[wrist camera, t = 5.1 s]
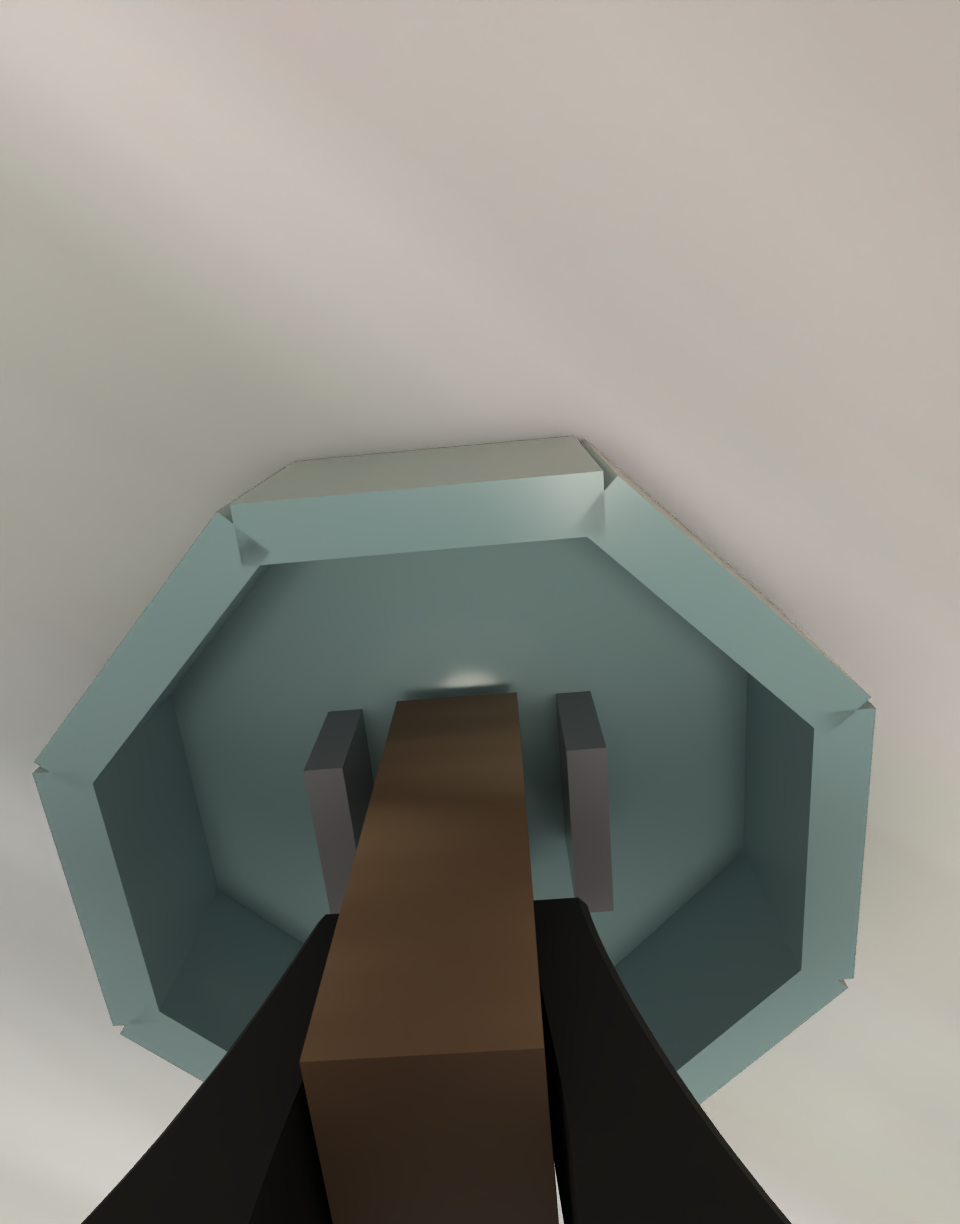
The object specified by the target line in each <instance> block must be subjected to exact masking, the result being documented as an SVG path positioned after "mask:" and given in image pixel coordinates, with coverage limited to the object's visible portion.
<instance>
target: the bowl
mask: <svg viewBox="0 0 960 1224" xmlns="http://www.w3.org/2000/svg"><path fill="white" fill-rule="evenodd" d="M513 692H517V697H518V709H519V722H520V734H521V747H522V760H523V772H524V785H525V797H526V810H527V822H528V835H529V847H530V860H531V872H532V885H533V897H534V900H546V899H560V898H575V897H578V898H580V899H581V900H582V901H583V902H585V903H586V904H587V905H588V908H589V912H590V915H591V917H592V920H593V922H594V925H595V927H596V930H597V932H598V935H599V937H600V939H601V941H602V943H603V945H604V948H605V950H606V952H607V954H608V956H609V958H610V960H611V962H612V964H613V966H614V967H615V969H616V971H617V973H618V975H619V977H620V979H621V981H622V983H623V985H624V986H625V988H626V990H627V992H628V993H629V995H630V997H631V999H632V1001H633V1002H634V1004H635V1006H636V1007H637V1009H638V1011H639V1012H640V1014H641V1015H642V1017H643V1019H644V1020H645V1022H646V1024H647V1025H648V1027H649V1029H650V1030H651V1032H652V1034H653V1035H654V1037H655V1039H656V1040H657V1042H658V1044H659V1045H660V1047H661V1048H662V1050H663V1051H664V1053H665V1054H666V1056H667V1058H668V1059H669V1061H670V1062H671V1064H672V1065H673V1067H674V1068H675V1070H676V1071H677V1073H678V1074H679V1076H680V1077H681V1079H682V1080H683V1082H684V1083H685V1084H686V1086H687V1087H688V1089H689V1090H690V1092H691V1093H692V1095H693V1096H694V1098H695V1099H696V1100H697V1102H698V1103H699V1105H700V1104H701V1103H702V1102H703V1101H705V1100H706V1099H707V1098H709V1097H710V1096H711V1095H712V1094H714V1093H715V1092H716V1091H717V1090H719V1089H720V1088H721V1087H723V1086H724V1085H725V1084H726V1083H728V1082H729V1081H730V1080H731V1079H733V1078H734V1077H735V1076H736V1075H738V1074H739V1073H740V1072H742V1071H743V1070H744V1069H745V1068H747V1067H748V1066H749V1065H750V1064H752V1063H753V1062H754V1061H756V1060H757V1059H758V1058H759V1057H761V1056H762V1055H763V1054H764V1053H766V1052H767V1051H768V1050H770V1049H771V1048H772V1047H773V1046H775V1045H776V1044H777V1043H778V1042H780V1041H781V1040H782V1039H784V1038H785V1037H786V1036H787V1035H789V1034H790V1033H791V1032H792V1031H794V1030H795V1029H796V1028H797V1027H799V1026H800V1025H801V1024H803V1023H804V1022H805V1021H806V1020H808V1019H809V1018H810V1017H811V1016H813V1015H814V1014H815V1013H817V1012H818V1011H819V1010H820V1009H822V1008H823V1007H824V1006H825V1005H827V1004H828V1003H829V1002H831V1001H832V1000H833V999H834V998H836V997H837V996H838V995H839V994H841V993H842V992H843V991H845V990H846V989H847V988H848V987H847V985H846V983H845V981H844V980H843V979H854V967H855V955H856V942H857V930H858V918H859V906H860V894H861V881H862V869H863V857H864V845H865V833H866V820H867V808H868V796H869V784H870V772H871V759H872V747H873V735H874V723H875V711H876V708H875V707H874V706H873V705H872V704H871V703H870V702H869V701H868V699H869V698H871V696H870V695H868V694H867V693H866V692H865V691H864V690H863V689H862V688H861V687H860V686H859V685H858V684H857V683H856V682H855V681H854V680H853V679H852V678H851V677H850V676H848V675H847V674H846V673H845V672H844V671H843V670H842V669H841V668H840V667H839V666H838V665H837V664H836V663H835V662H834V661H833V660H832V659H831V658H829V657H828V656H827V655H826V654H825V653H824V652H823V651H822V650H821V649H820V648H819V647H818V646H817V645H816V644H815V643H814V642H813V641H812V640H810V639H809V638H808V637H807V636H806V635H805V634H804V633H803V632H802V631H801V630H800V629H799V628H798V627H797V626H796V625H795V624H794V623H793V622H792V621H790V620H789V619H788V618H787V617H786V616H785V615H784V614H783V613H782V612H781V611H780V610H779V609H778V608H777V607H775V606H774V605H773V604H772V603H771V602H770V601H769V600H767V599H766V598H765V597H764V596H763V595H762V594H761V593H759V592H758V591H757V590H756V589H755V588H754V587H753V586H751V585H750V584H749V583H748V582H747V581H746V580H745V579H743V578H742V577H741V576H740V575H739V574H738V573H737V572H735V571H734V570H733V569H732V568H731V567H730V566H729V565H727V564H726V563H725V562H724V561H723V560H722V559H721V558H719V557H718V556H717V555H716V554H715V553H714V552H713V551H712V550H710V549H709V548H708V547H707V546H706V545H705V544H704V543H702V542H701V541H700V540H699V539H698V538H697V537H696V536H694V535H693V534H692V533H691V532H690V531H689V530H688V529H686V528H685V527H684V526H683V525H682V524H681V523H680V522H678V521H677V520H676V519H675V518H674V517H673V516H672V515H670V514H669V513H668V512H667V511H666V510H665V509H664V508H662V507H661V506H660V505H659V504H658V503H657V502H656V501H654V500H653V499H652V498H651V497H650V496H649V495H648V494H647V493H645V492H644V491H643V490H642V489H641V488H640V487H639V486H637V485H636V484H635V483H634V482H633V481H632V480H631V479H629V478H628V477H627V476H626V475H625V474H624V473H623V472H621V471H620V470H619V469H618V468H617V467H616V466H615V465H613V464H612V463H611V462H610V461H609V460H608V459H607V458H605V457H604V456H603V455H602V454H601V453H600V452H599V451H597V450H596V449H595V448H594V447H593V446H592V445H591V444H589V443H588V442H587V441H586V440H585V439H584V441H583V442H582V443H581V444H580V443H579V441H578V440H577V439H576V438H575V437H574V436H565V437H554V438H544V439H533V440H522V441H511V442H500V443H489V444H478V445H468V446H457V447H446V448H435V449H424V450H413V451H402V452H391V453H381V454H370V455H359V456H348V457H337V458H326V459H315V460H305V461H295V462H293V463H292V464H290V465H289V466H287V467H284V468H283V469H281V470H280V471H278V472H277V473H275V474H274V475H272V476H270V477H269V478H267V479H266V480H264V481H263V482H261V483H260V484H258V485H257V486H255V487H254V488H252V489H251V490H249V491H248V492H246V493H245V494H243V495H241V496H240V497H238V498H237V499H235V500H234V501H232V502H231V503H229V504H228V505H226V506H225V507H223V508H222V509H220V510H219V511H217V512H216V513H215V515H214V516H213V518H212V519H211V520H210V522H209V523H208V524H207V526H206V527H205V529H204V530H203V531H202V533H201V534H200V535H199V537H198V538H197V540H196V541H195V542H194V544H193V545H192V546H191V548H190V549H189V550H188V552H187V553H186V555H185V556H184V557H183V559H182V560H181V561H180V563H179V564H178V566H177V567H176V568H175V570H174V571H173V572H172V574H171V575H170V577H169V578H168V579H167V581H166V582H165V583H164V585H163V586H162V587H161V589H160V590H159V592H158V593H157V594H156V596H155V597H154V598H153V600H152V601H151V603H150V604H149V605H148V607H147V608H146V609H145V611H144V612H143V613H142V615H141V616H140V618H139V619H138V620H137V622H136V623H135V624H134V626H133V627H132V629H131V630H130V631H129V633H128V634H127V635H126V637H125V638H124V640H123V641H122V642H121V644H120V645H119V646H118V648H117V649H116V650H115V652H114V653H113V655H112V656H111V657H110V659H109V660H108V661H107V663H106V664H105V666H104V667H103V668H102V670H101V671H100V672H99V674H98V675H97V676H96V678H95V679H94V681H93V682H92V683H91V685H90V686H89V687H88V689H87V690H86V692H85V693H84V694H83V696H82V697H81V698H80V700H79V701H78V703H77V704H76V705H75V707H74V708H73V709H72V711H71V712H70V713H69V715H68V716H67V718H66V719H65V720H64V722H63V723H62V724H61V726H60V727H59V729H58V730H57V731H56V733H55V734H54V735H53V737H52V738H51V740H50V741H49V742H48V744H47V745H46V746H45V748H44V749H43V750H42V752H41V753H40V755H39V756H38V757H37V759H36V760H35V761H34V762H35V763H36V764H38V765H39V766H40V767H39V768H38V769H36V770H35V771H34V772H33V773H32V774H33V777H34V780H35V783H36V786H37V789H38V792H39V796H40V799H41V802H42V805H43V808H44V811H45V814H46V817H47V821H48V824H49V827H50V830H51V833H52V836H53V839H54V843H55V846H56V849H57V852H58V855H59V858H60V861H61V864H62V868H63V871H64V874H65V877H66V880H67V883H68V886H69V889H70V893H71V896H72V899H73V902H74V905H75V908H76V911H77V915H78V918H79V921H80V924H81V927H82V930H83V933H84V936H85V940H86V943H87V946H88V949H89V952H90V955H91V958H92V961H93V965H94V968H95V971H96V974H97V977H98V980H99V983H100V986H101V990H102V993H103V996H104V999H105V1002H106V1005H107V1008H108V1012H109V1015H110V1018H111V1021H112V1024H113V1026H119V1025H125V1026H124V1028H123V1030H122V1031H121V1033H120V1034H121V1035H123V1036H125V1037H126V1038H128V1039H130V1040H132V1041H133V1042H135V1043H137V1044H139V1045H140V1046H142V1047H144V1048H146V1049H147V1050H149V1051H151V1052H152V1053H154V1054H156V1055H158V1056H159V1057H161V1058H163V1059H165V1060H166V1061H168V1062H170V1063H172V1064H173V1065H175V1066H177V1067H179V1068H180V1069H182V1070H184V1071H186V1072H187V1073H189V1074H191V1075H192V1076H194V1077H196V1078H198V1079H199V1080H201V1081H203V1082H204V1081H205V1080H206V1079H207V1077H208V1076H209V1075H210V1074H211V1072H212V1071H213V1070H214V1069H215V1067H216V1066H217V1065H218V1063H219V1062H220V1061H221V1060H222V1058H223V1057H224V1056H225V1054H226V1053H227V1052H228V1050H229V1049H230V1047H231V1046H232V1045H233V1043H234V1042H235V1041H236V1039H237V1038H238V1037H239V1035H240V1034H241V1033H242V1031H243V1030H244V1028H245V1027H246V1026H247V1024H248V1023H249V1022H250V1020H251V1019H252V1018H253V1016H254V1015H255V1014H256V1012H257V1011H258V1009H259V1008H260V1007H261V1005H262V1004H263V1003H264V1001H265V1000H266V998H267V997H268V995H269V994H270V993H271V991H272V990H273V988H274V987H275V985H276V984H277V983H278V981H279V980H280V978H281V977H282V975H283V974H284V972H285V971H286V969H287V968H288V967H289V965H290V964H291V962H292V961H293V959H294V958H295V956H296V955H297V953H298V952H299V950H300V949H301V947H302V946H303V944H304V943H305V941H306V940H307V938H308V937H309V935H310V934H311V932H312V931H313V929H314V928H315V926H316V925H317V923H318V922H319V921H320V920H321V919H322V918H323V917H324V915H325V914H339V913H340V910H341V906H342V902H343V899H344V895H345V891H346V887H347V884H348V880H349V876H350V873H351V869H352V865H353V861H354V858H355V854H356V850H357V847H358V843H359V839H360V836H361V832H362V828H363V824H364V821H365V817H366V813H367V810H368V806H369V802H370V798H371V795H372V791H373V787H374V784H375V780H376V776H377V772H378V769H379V765H380V761H381V758H382V754H383V750H384V747H385V743H386V739H387V735H388V732H389V728H390V724H391V721H392V717H393V713H394V709H395V706H396V702H397V701H406V700H419V699H433V698H446V697H459V696H473V695H486V694H499V693H513Z"/></svg>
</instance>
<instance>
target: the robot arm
mask: <svg viewBox="0 0 960 1224" xmlns="http://www.w3.org/2000/svg"><path fill="white" fill-rule="evenodd" d="M533 904H534V917H535V931H536V944H537V957H538V970H539V983H540V995H541V1008H542V1020H543V1033H544V1045H545V1058H546V1070H547V1082H548V1095H549V1107H550V1120H551V1132H552V1145H553V1157H554V1164H555V1170H556V1176H557V1183H558V1189H559V1195H560V1201H561V1207H562V1214H563V1220H564V1224H791V1222H790V1221H789V1220H788V1219H787V1218H786V1216H785V1215H784V1214H783V1213H782V1212H781V1210H780V1209H779V1208H778V1207H777V1206H776V1204H775V1203H774V1202H773V1201H772V1200H771V1198H770V1197H769V1196H768V1195H767V1193H766V1192H765V1191H764V1190H763V1188H762V1187H761V1186H760V1185H759V1183H758V1182H757V1181H756V1179H755V1178H754V1177H753V1176H752V1174H751V1173H750V1172H749V1171H748V1169H747V1168H746V1167H745V1165H744V1164H743V1163H742V1162H741V1160H740V1159H739V1158H738V1157H737V1155H736V1154H735V1153H734V1151H733V1150H732V1149H731V1147H730V1146H729V1145H728V1143H727V1142H726V1141H725V1139H724V1138H723V1137H722V1135H721V1134H720V1133H719V1131H718V1130H717V1129H716V1127H715V1126H714V1124H713V1123H712V1122H711V1120H710V1119H709V1117H708V1116H707V1115H706V1113H705V1112H704V1111H703V1109H702V1108H701V1106H700V1105H699V1103H698V1102H697V1100H696V1099H695V1098H694V1096H693V1095H692V1093H691V1092H690V1090H689V1089H688V1087H687V1086H686V1084H685V1083H684V1082H683V1080H682V1079H681V1077H680V1076H679V1074H678V1073H677V1071H676V1070H675V1068H674V1067H673V1065H672V1064H671V1062H670V1061H669V1059H668V1058H667V1056H666V1054H665V1053H664V1051H663V1050H662V1048H661V1047H660V1045H659V1044H658V1042H657V1040H656V1039H655V1037H654V1035H653V1034H652V1032H651V1030H650V1029H649V1027H648V1025H647V1024H646V1022H645V1020H644V1019H643V1017H642V1015H641V1014H640V1012H639V1011H638V1009H637V1007H636V1006H635V1004H634V1002H633V1001H632V999H631V997H630V995H629V993H628V992H627V990H626V988H625V986H624V985H623V983H622V981H621V979H620V977H619V975H618V973H617V971H616V969H615V967H614V966H613V964H612V962H611V960H610V958H609V956H608V954H607V952H606V950H605V948H604V945H603V943H602V941H601V939H600V937H599V935H598V932H597V930H596V927H595V925H594V922H593V920H592V917H591V915H590V912H589V908H588V905H587V904H586V903H585V902H583V901H582V900H581V899H580V898H578V897H575V898H560V899H546V900H533ZM338 917H339V914H325V915H324V917H323V918H322V919H321V920H320V921H319V922H318V923H317V925H316V926H315V928H314V929H313V931H312V932H311V934H310V935H309V937H308V938H307V940H306V941H305V943H304V944H303V946H302V947H301V949H300V950H299V952H298V953H297V955H296V956H295V958H294V959H293V961H292V962H291V964H290V965H289V967H288V968H287V969H286V971H285V972H284V974H283V975H282V977H281V978H280V980H279V981H278V983H277V984H276V985H275V987H274V988H273V990H272V991H271V993H270V994H269V995H268V997H267V998H266V1000H265V1001H264V1003H263V1004H262V1005H261V1007H260V1008H259V1009H258V1011H257V1012H256V1014H255V1015H254V1016H253V1018H252V1019H251V1020H250V1022H249V1023H248V1024H247V1026H246V1027H245V1028H244V1030H243V1031H242V1033H241V1034H240V1035H239V1037H238V1038H237V1039H236V1041H235V1042H234V1043H233V1045H232V1046H231V1047H230V1049H229V1050H228V1052H227V1053H226V1054H225V1056H224V1057H223V1058H222V1060H221V1061H220V1062H219V1063H218V1065H217V1066H216V1067H215V1069H214V1070H213V1071H212V1072H211V1074H210V1075H209V1076H208V1077H207V1079H206V1080H205V1081H204V1082H203V1084H202V1085H201V1086H200V1087H199V1089H198V1090H197V1091H196V1092H195V1094H194V1095H193V1096H192V1097H191V1098H190V1100H189V1101H188V1102H187V1103H186V1105H185V1106H184V1107H183V1108H182V1110H181V1111H180V1112H179V1113H178V1115H177V1116H176V1117H175V1118H174V1120H173V1121H172V1122H171V1123H170V1124H169V1126H168V1127H167V1128H166V1129H165V1131H164V1132H163V1133H162V1134H161V1135H160V1137H159V1138H158V1139H157V1140H156V1141H155V1142H154V1144H153V1145H152V1146H151V1147H150V1148H149V1149H148V1150H147V1152H146V1153H145V1154H144V1155H143V1156H142V1157H141V1159H140V1160H139V1161H138V1162H137V1163H136V1164H135V1165H134V1167H133V1168H132V1169H131V1170H130V1171H129V1172H128V1173H127V1174H126V1176H125V1177H124V1178H123V1179H122V1180H121V1181H120V1182H119V1183H118V1185H117V1186H116V1187H115V1188H114V1189H113V1190H112V1191H111V1192H110V1193H109V1194H108V1195H107V1196H106V1198H105V1199H104V1200H103V1201H102V1202H101V1203H100V1204H99V1205H98V1206H97V1207H96V1208H95V1209H94V1210H93V1212H92V1213H91V1214H90V1215H89V1216H88V1217H87V1218H86V1219H85V1220H84V1221H83V1222H82V1223H81V1224H333V1222H332V1218H331V1213H330V1208H329V1203H328V1198H327V1193H326V1189H325V1184H324V1179H323V1174H322V1169H321V1164H320V1160H319V1155H318V1150H317V1145H316V1140H315V1135H314V1131H313V1126H312V1121H311V1116H310V1111H309V1106H308V1102H307V1097H306V1092H305V1087H304V1082H303V1077H302V1072H301V1068H300V1063H299V1062H300V1058H301V1054H302V1051H303V1047H304V1043H305V1039H306V1036H307V1032H308V1028H309V1025H310V1021H311V1017H312V1013H313V1010H314V1006H315V1002H316V999H317V995H318V991H319V987H320V984H321V980H322V976H323V973H324V969H325V965H326V962H327V958H328V954H329V950H330V947H331V943H332V939H333V936H334V932H335V928H336V924H337V921H338Z"/></svg>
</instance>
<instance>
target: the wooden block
mask: <svg viewBox="0 0 960 1224" xmlns="http://www.w3.org/2000/svg"><path fill="white" fill-rule="evenodd" d="M533 900H534V897H533V885H532V872H531V860H530V847H529V835H528V822H527V810H526V797H525V785H524V772H523V760H522V747H521V734H520V722H519V709H518V697H517V692H513V693H499V694H486V695H473V696H459V697H446V698H433V699H419V700H406V701H397V702H396V706H395V709H394V713H393V717H392V721H391V724H390V728H389V732H388V735H387V739H386V743H385V747H384V750H383V754H382V758H381V761H380V765H379V769H378V772H377V776H376V780H375V784H374V787H373V791H372V795H371V798H370V802H369V806H368V810H367V813H366V817H365V821H364V824H363V828H362V832H361V836H360V839H359V843H358V847H357V850H356V854H355V858H354V861H353V865H352V869H351V873H350V876H349V880H348V884H347V887H346V891H345V895H344V899H343V902H342V906H341V910H340V913H339V917H338V921H337V924H336V928H335V932H334V936H333V939H332V943H331V947H330V950H329V954H328V958H327V962H326V965H325V969H324V973H323V976H322V980H321V984H320V987H319V991H318V995H317V999H316V1002H315V1006H314V1010H313V1013H312V1017H311V1021H310V1025H309V1028H308V1032H307V1036H306V1039H305V1043H304V1047H303V1051H302V1054H301V1058H300V1062H299V1063H300V1068H301V1072H302V1077H303V1082H304V1087H305V1092H306V1097H307V1102H308V1106H309V1111H310V1116H311V1121H312V1126H313V1131H314V1135H315V1140H316V1145H317V1150H318V1155H319V1160H320V1164H321V1169H322V1174H323V1179H324V1184H325V1189H326V1193H327V1198H328V1203H329V1208H330V1213H331V1218H332V1222H333V1224H559V1220H558V1207H557V1194H556V1181H555V1168H554V1157H553V1145H552V1132H551V1120H550V1107H549V1095H548V1082H547V1070H546V1058H545V1045H544V1033H543V1020H542V1008H541V995H540V983H539V970H538V957H537V944H536V931H535V917H534V904H533Z"/></svg>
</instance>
